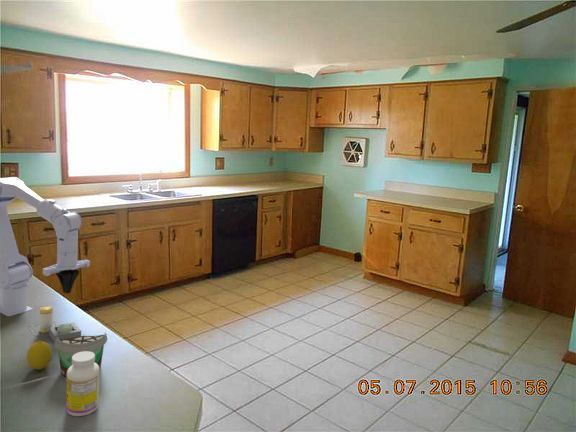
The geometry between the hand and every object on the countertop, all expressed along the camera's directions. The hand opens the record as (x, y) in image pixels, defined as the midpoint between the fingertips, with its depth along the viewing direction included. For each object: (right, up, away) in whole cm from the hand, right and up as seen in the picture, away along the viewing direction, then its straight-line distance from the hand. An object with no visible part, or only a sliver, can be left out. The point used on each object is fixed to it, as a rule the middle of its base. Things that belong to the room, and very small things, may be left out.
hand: (66, 292), depth 137 cm
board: (-1, -11, -6) cm, 13 cm away
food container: (+18, -17, -27) cm, 36 cm away
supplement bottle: (+24, -20, -40) cm, 50 cm away
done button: (+4, -11, -9) cm, 15 cm away
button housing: (+4, -12, -9) cm, 15 cm away
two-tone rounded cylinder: (-3, -11, -6) cm, 13 cm away
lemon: (+6, -15, -26) cm, 31 cm away
